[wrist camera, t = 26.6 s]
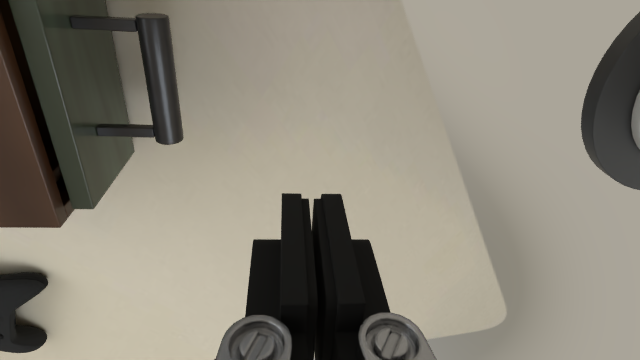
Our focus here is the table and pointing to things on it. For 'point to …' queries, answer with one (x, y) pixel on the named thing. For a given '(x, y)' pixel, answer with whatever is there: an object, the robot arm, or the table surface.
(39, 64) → the drawer
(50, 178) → the cabinet
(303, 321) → the robot arm
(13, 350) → the game controller
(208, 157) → the table surface
